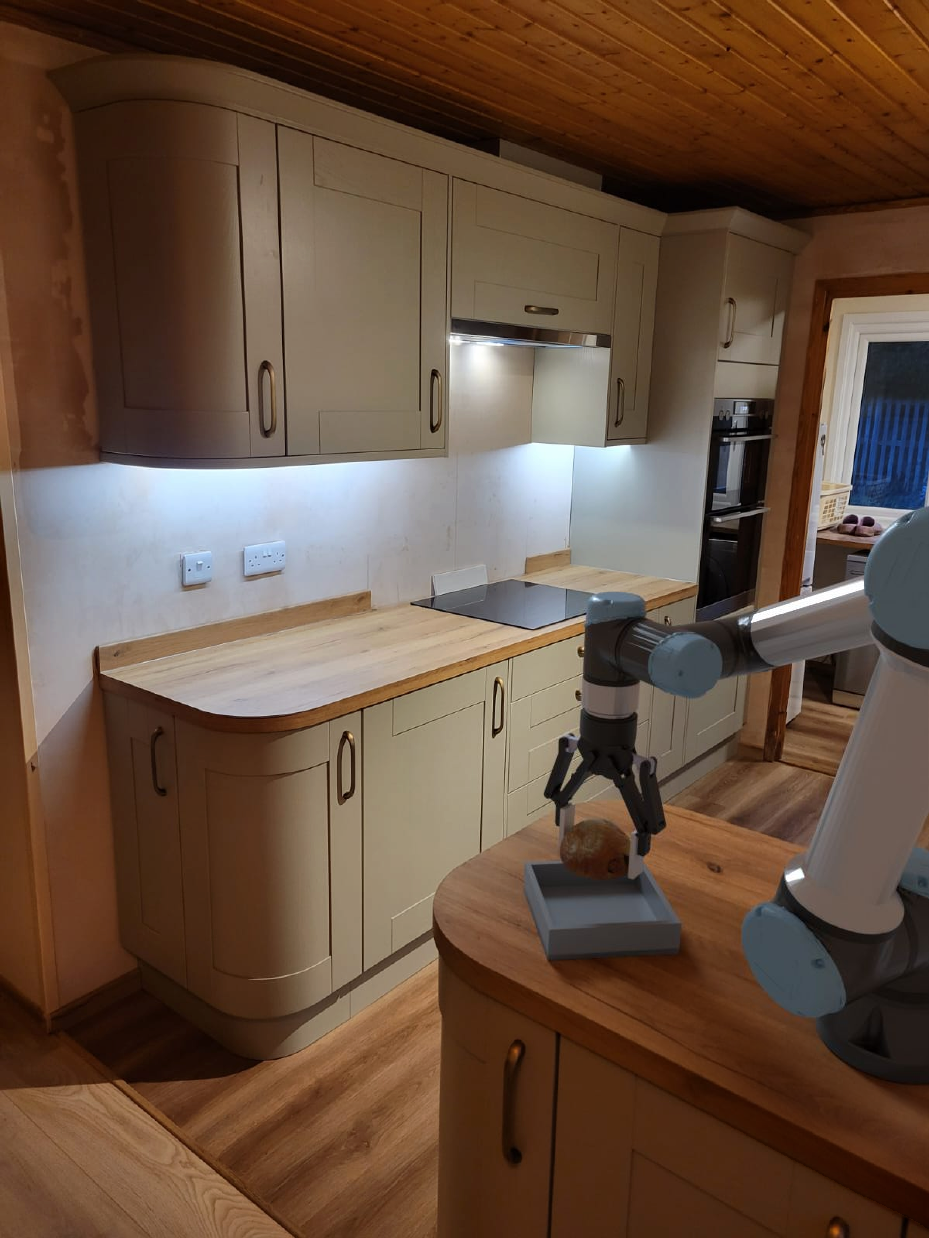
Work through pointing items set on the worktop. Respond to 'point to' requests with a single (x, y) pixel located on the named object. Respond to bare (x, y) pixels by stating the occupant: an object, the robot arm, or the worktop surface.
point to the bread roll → (596, 849)
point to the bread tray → (599, 914)
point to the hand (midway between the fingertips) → (599, 861)
